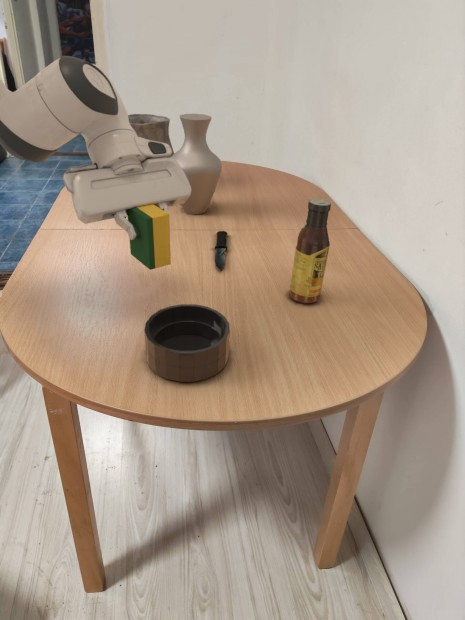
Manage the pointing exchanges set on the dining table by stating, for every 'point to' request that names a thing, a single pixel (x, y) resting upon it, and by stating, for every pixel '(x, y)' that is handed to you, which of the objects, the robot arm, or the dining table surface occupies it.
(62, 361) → the dining table surface
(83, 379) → the dining table surface
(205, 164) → the vase
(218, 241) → the knife
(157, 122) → the vessel
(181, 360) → the bowl
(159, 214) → the sponge
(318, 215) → the sauce bottle
